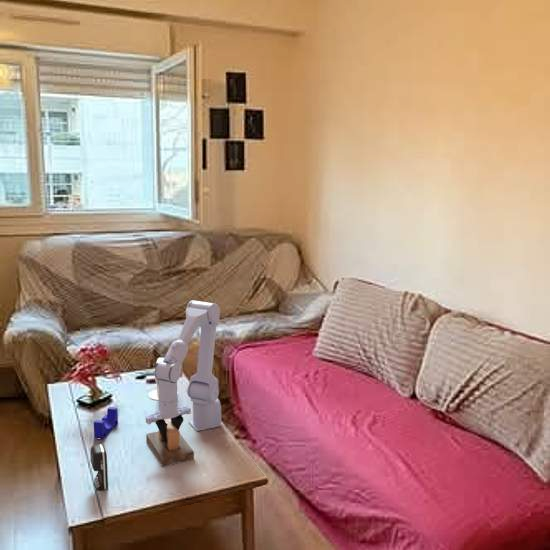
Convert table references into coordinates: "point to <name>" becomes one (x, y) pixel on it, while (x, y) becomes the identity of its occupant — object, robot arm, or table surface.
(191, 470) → the table surface
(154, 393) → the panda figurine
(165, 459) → the brown board with holes
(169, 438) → the prong clip
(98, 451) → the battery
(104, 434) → the blue cradle block
